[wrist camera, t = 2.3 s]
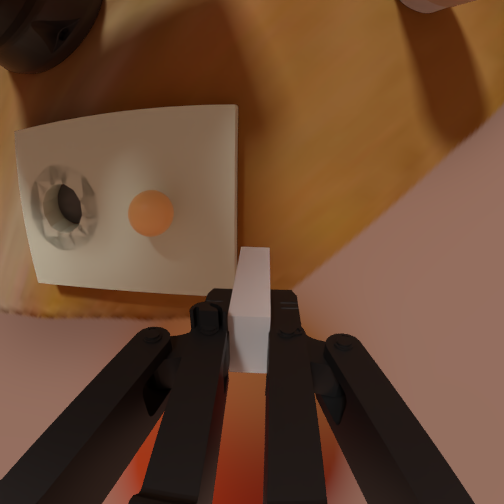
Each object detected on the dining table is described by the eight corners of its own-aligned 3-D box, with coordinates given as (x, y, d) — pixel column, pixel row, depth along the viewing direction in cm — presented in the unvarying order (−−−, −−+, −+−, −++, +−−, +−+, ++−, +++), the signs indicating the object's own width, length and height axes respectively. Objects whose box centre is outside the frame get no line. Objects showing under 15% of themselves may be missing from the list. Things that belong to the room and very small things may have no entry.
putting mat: (30, 128, 28) (14, 131, 25) (238, 106, 27) (235, 104, 25) (50, 271, 35) (38, 282, 32) (237, 282, 34) (234, 297, 32)
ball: (136, 186, 28) (118, 196, 24) (178, 185, 27) (164, 195, 24) (139, 227, 29) (123, 243, 25) (180, 228, 29) (168, 244, 25)
